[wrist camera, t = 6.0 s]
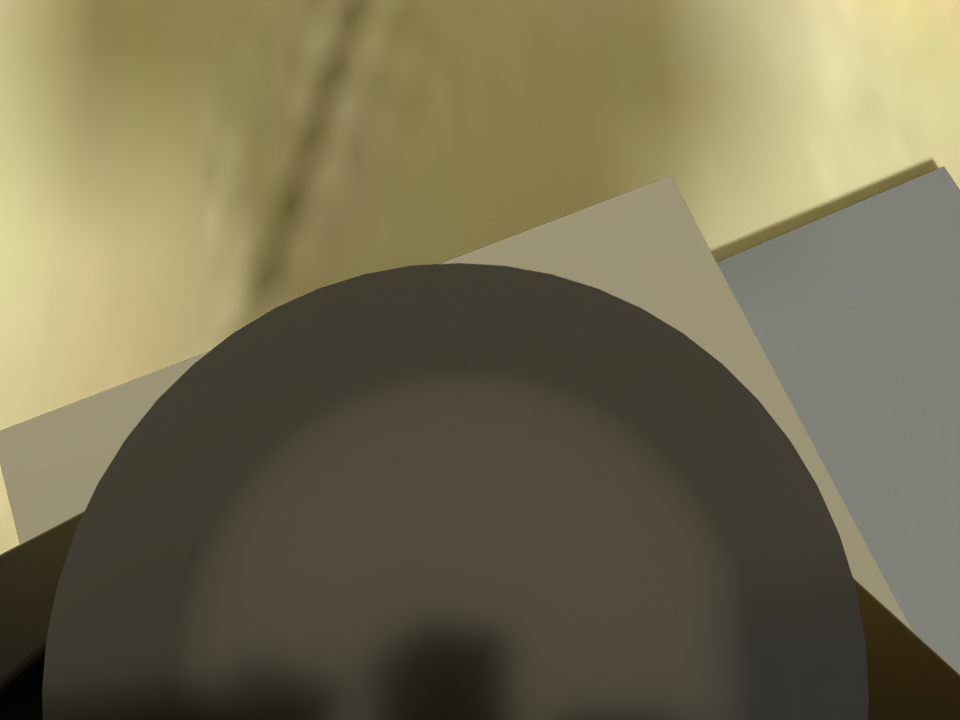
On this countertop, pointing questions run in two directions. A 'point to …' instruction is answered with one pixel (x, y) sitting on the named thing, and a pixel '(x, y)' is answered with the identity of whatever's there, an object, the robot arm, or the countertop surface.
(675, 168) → the countertop surface
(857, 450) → the slate mat
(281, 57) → the countertop surface
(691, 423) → the grey cylinder on plate
